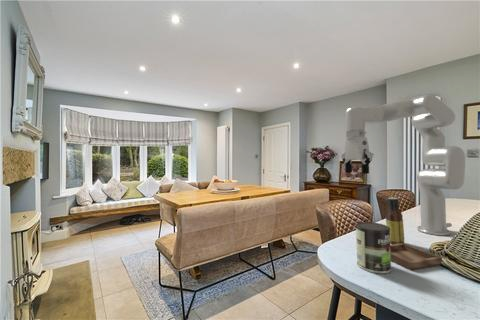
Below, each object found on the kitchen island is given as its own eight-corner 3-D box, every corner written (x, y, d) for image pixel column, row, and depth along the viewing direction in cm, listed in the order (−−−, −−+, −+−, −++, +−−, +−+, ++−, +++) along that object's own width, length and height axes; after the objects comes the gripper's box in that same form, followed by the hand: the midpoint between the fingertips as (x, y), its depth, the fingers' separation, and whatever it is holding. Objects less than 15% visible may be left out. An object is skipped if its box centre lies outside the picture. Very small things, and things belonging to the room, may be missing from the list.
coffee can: (397, 268, 74) (396, 227, 74) (380, 277, 69) (378, 232, 69) (368, 257, 83) (366, 220, 83) (350, 263, 78) (349, 224, 78)
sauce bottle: (398, 240, 98) (397, 196, 99) (408, 246, 92) (406, 199, 92) (383, 240, 99) (382, 196, 99) (391, 245, 93) (390, 199, 93)
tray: (403, 249, 89) (403, 243, 89) (442, 264, 76) (442, 257, 76) (375, 253, 86) (375, 247, 86) (410, 270, 72) (410, 263, 72)
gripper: (378, 132, 91) (380, 173, 91) (348, 137, 108) (349, 172, 108) (364, 132, 89) (365, 174, 89) (335, 137, 106) (336, 172, 106)
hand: (356, 173), depth 98 cm, fingers open, 9 cm apart
